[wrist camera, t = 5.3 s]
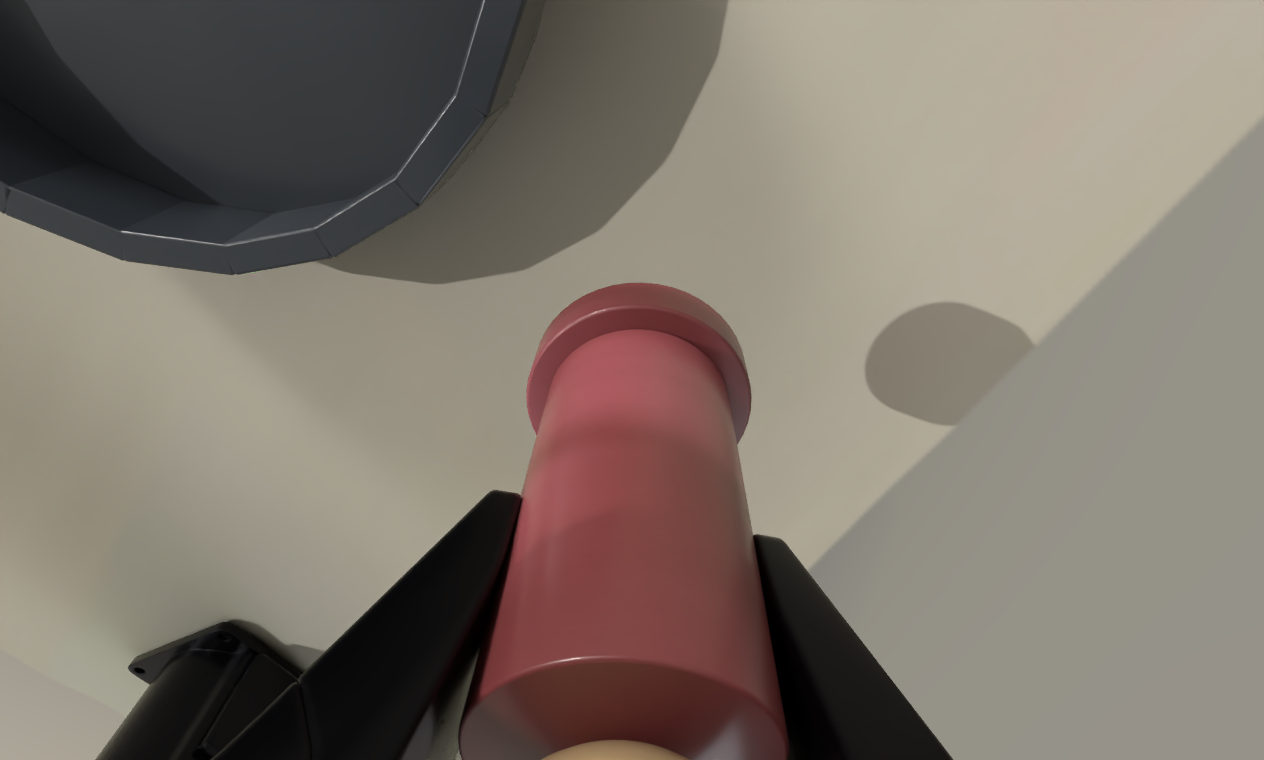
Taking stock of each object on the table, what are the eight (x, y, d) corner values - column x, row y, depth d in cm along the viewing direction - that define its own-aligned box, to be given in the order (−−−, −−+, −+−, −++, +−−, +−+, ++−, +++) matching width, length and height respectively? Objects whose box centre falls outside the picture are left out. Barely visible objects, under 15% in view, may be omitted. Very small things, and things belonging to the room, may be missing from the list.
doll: (602, 485, 13) (508, 1332, 5) (493, 339, 12) (58, 1276, 3) (778, 415, 12) (1041, 1351, 4) (687, 242, 11) (811, 1285, 2)
